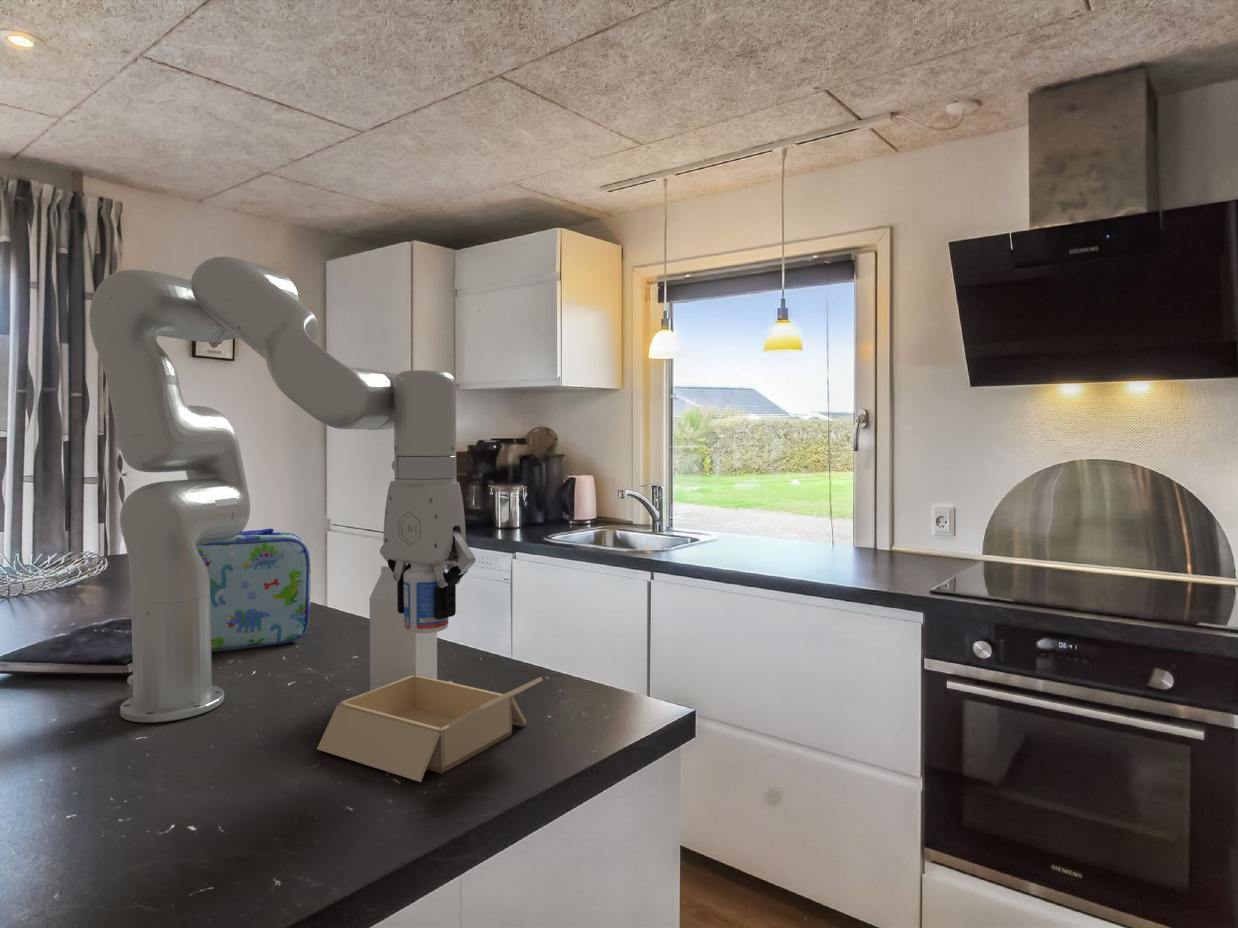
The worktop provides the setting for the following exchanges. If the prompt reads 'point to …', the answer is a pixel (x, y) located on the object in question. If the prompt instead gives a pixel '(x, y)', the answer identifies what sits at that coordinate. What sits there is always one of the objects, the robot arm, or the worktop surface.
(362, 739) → the carton
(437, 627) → the pill bottle
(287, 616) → the lunch box
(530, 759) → the worktop surface
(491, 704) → the flap
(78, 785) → the worktop surface
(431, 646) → the milk carton
